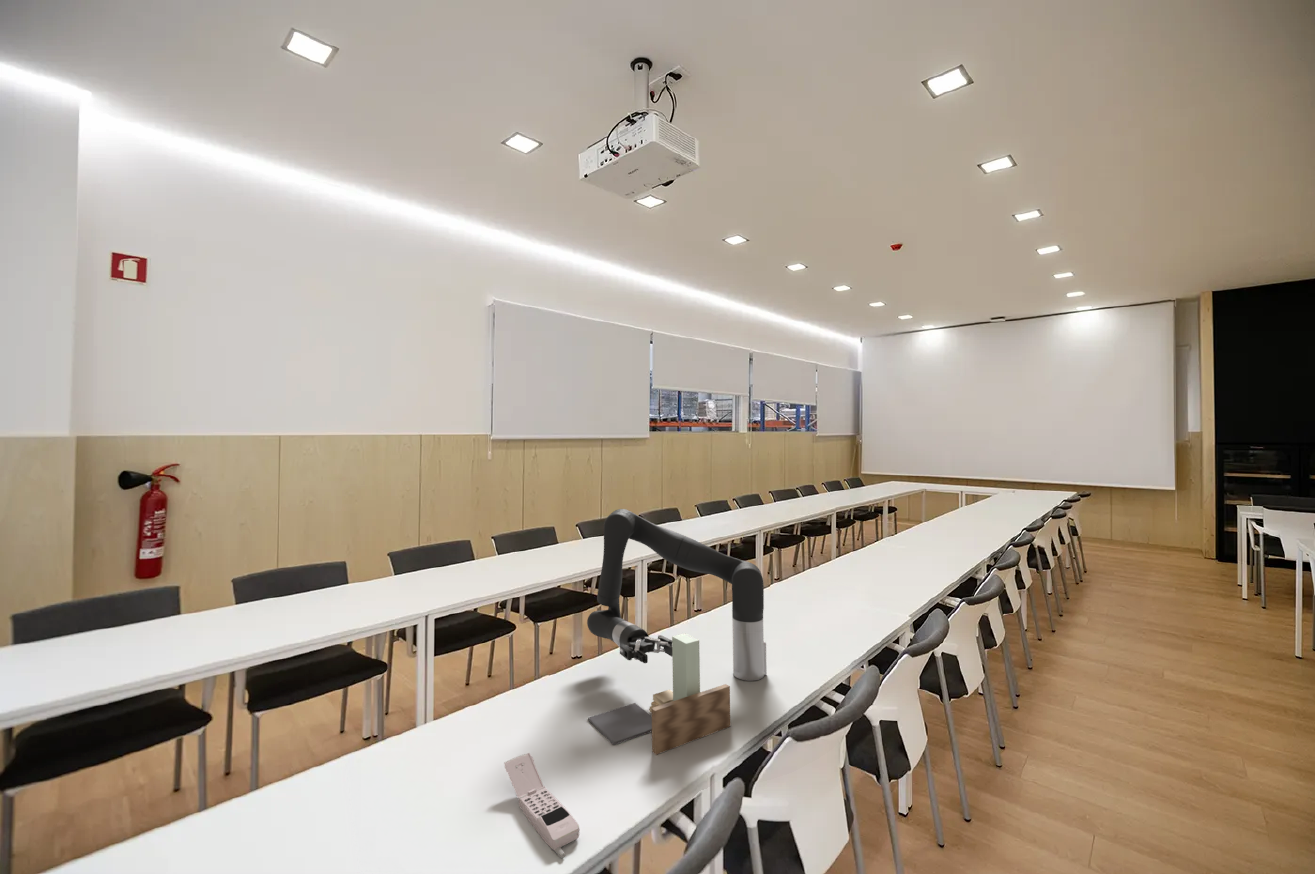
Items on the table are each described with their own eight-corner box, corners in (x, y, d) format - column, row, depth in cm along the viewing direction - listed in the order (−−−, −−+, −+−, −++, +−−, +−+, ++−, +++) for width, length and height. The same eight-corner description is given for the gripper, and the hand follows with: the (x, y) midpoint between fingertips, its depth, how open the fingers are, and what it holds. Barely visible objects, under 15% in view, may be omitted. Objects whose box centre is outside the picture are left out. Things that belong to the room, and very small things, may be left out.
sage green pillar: (686, 719, 141) (685, 633, 141) (700, 729, 136) (699, 640, 136) (673, 723, 139) (672, 636, 139) (687, 734, 134) (686, 643, 134)
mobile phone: (529, 751, 118) (587, 813, 98) (530, 778, 118) (588, 846, 98) (501, 761, 114) (556, 828, 94) (502, 790, 114) (557, 863, 94)
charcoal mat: (635, 704, 149) (634, 702, 149) (663, 727, 138) (663, 724, 138) (587, 719, 142) (587, 717, 142) (613, 744, 130) (613, 742, 130)
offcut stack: (668, 704, 150) (668, 687, 150) (685, 713, 145) (684, 695, 145) (648, 712, 146) (648, 695, 146) (665, 722, 141) (665, 704, 141)
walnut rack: (710, 713, 144) (709, 674, 144) (730, 726, 138) (729, 686, 138) (637, 738, 132) (637, 697, 132) (655, 754, 126) (655, 710, 126)
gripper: (608, 629, 157) (637, 647, 144) (650, 620, 165) (682, 636, 151) (608, 655, 157) (637, 676, 144) (650, 645, 165) (682, 664, 151)
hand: (660, 655), depth 147 cm, fingers open, 8 cm apart
